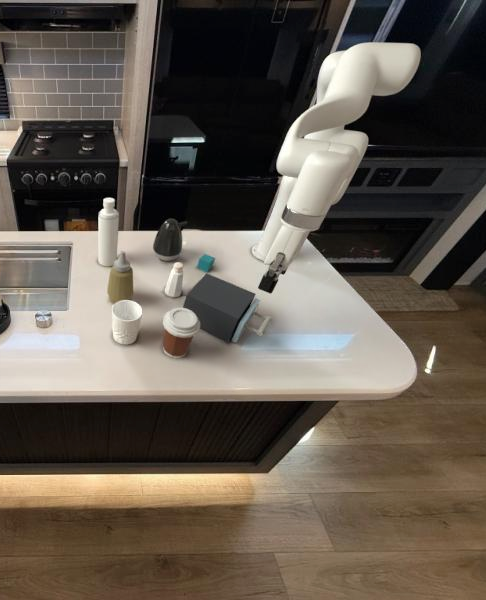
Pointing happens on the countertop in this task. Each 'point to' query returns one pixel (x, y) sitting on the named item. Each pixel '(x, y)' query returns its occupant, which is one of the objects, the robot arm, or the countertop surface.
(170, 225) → the pump dispenser
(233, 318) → the dark grey drawer cabinet
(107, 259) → the white bottle
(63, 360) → the countertop surface
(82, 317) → the countertop surface
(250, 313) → the drawer
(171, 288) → the pepper shaker
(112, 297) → the squeeze bottle
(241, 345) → the countertop surface
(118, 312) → the white cup
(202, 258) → the teal cube
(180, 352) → the coffee cup
